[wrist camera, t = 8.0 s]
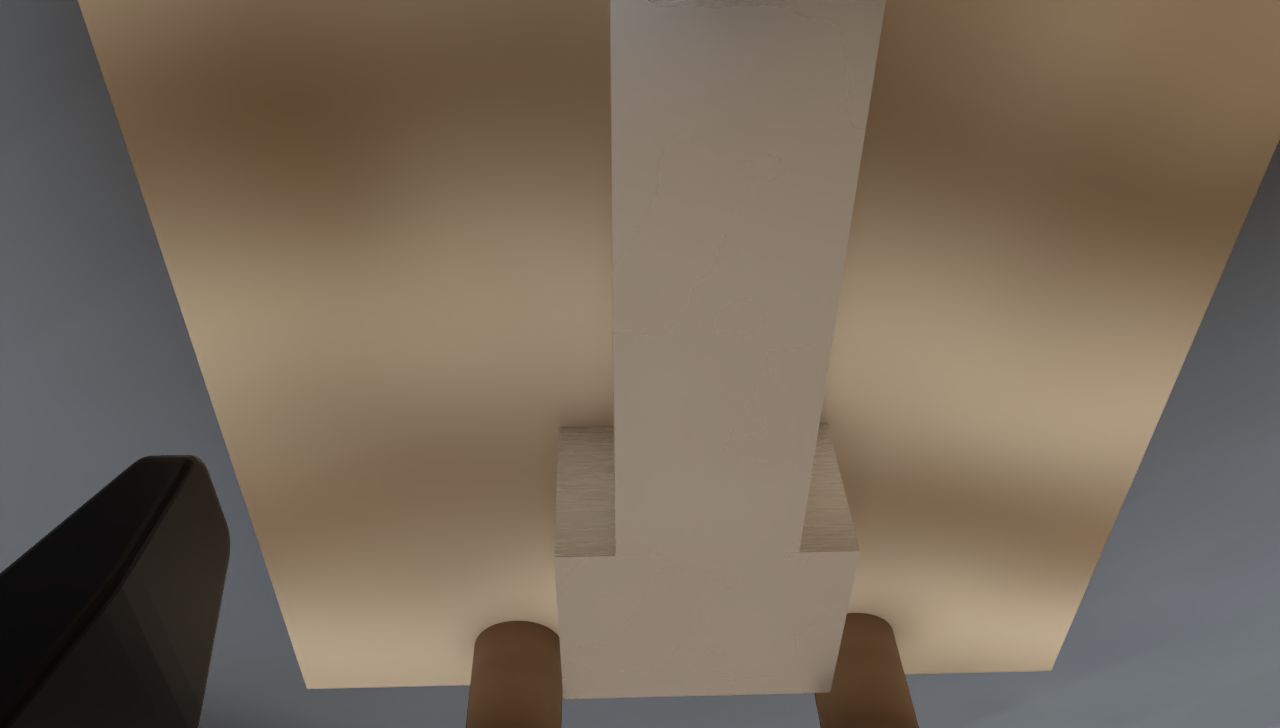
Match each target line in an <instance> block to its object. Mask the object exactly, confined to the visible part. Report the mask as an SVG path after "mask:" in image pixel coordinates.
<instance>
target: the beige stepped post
mask: <svg viewBox="0 0 1280 728" xmlns="http://www.w3.org/2000/svg"><path fill="white" fill-rule="evenodd" d="M885 3H886V0H608V4H609V96H610V188H611V279H612V371H613V426H590V427H559V443H558V469H557V494H556V520H555V545H554V565H555V580H556V595H557V610H558V625H559V640H560V656H561V671H562V686H563V699H588V698H629V697H670V696H710V695H751V694H792V693H830V691H831V686H832V681H833V677H834V672H835V667H836V663H837V658H838V653H839V648H840V644H841V639H842V634H843V629H844V625H845V620H846V615H847V611H848V606H849V601H850V596H851V592H852V587H853V582H854V578H855V573H856V568H857V563H858V559H859V554H860V549H859V545H858V541H857V537H856V533H855V529H854V525H853V522H852V518H851V514H850V510H849V506H848V502H847V498H846V494H845V490H844V486H843V482H842V478H841V474H840V471H839V467H838V463H837V459H836V455H835V451H834V447H833V443H832V439H831V435H830V431H829V427H828V423H820V417H821V411H822V405H823V398H824V392H825V386H826V379H827V373H828V366H829V360H830V354H831V347H832V341H833V335H834V328H835V322H836V315H837V309H838V303H839V296H840V290H841V284H842V277H843V271H844V264H845V258H846V252H847V245H848V239H849V233H850V226H851V220H852V213H853V207H854V201H855V194H856V188H857V182H858V175H859V169H860V162H861V156H862V150H863V143H864V137H865V131H866V124H867V118H868V111H869V105H870V99H871V92H872V86H873V80H874V73H875V67H876V60H877V54H878V48H879V41H880V35H881V29H882V22H883V16H884V9H885Z"/></svg>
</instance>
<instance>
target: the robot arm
mask: <svg viewBox="0 0 1280 728" xmlns="http://www.w3.org/2000/svg"><path fill="white" fill-rule="evenodd" d="M229 556H230V536H229V529H228V526H227V523H226V520H225V517H224V514H223V511H222V509H221V506H220V503H219V500H218V497H217V495H216V492H215V489H214V486H213V483H212V480H211V478H210V475H209V472H208V470H207V468H206V466H205V464H204V463H203V461H202V460H201V459H200V458H198V457H196V456H192V455H161V456H147V457H143V458H141V459H139V460H138V461H136V462H135V463H133V464H132V465H131V466H129V467H128V468H127V469H126V470H125V471H123V472H122V473H121V474H120V475H118V476H117V477H116V478H115V479H114V480H112V481H111V482H110V483H109V484H108V485H106V486H105V487H104V488H103V489H102V490H100V491H99V492H98V493H97V494H96V495H94V496H93V497H92V498H91V499H90V500H88V501H87V502H86V503H85V504H83V505H82V506H81V507H80V508H79V509H77V510H76V511H75V512H74V513H73V514H71V515H70V516H69V517H68V518H67V519H65V520H64V521H63V522H62V523H61V524H59V525H58V526H57V527H56V528H54V529H53V530H52V531H51V532H50V533H48V534H47V535H46V536H45V537H44V538H42V539H41V540H40V541H39V542H38V543H36V544H35V545H34V546H33V547H32V548H30V549H29V550H28V551H27V552H26V553H24V554H23V555H22V556H21V557H19V558H18V559H17V560H16V561H15V562H13V563H12V564H11V565H10V566H9V567H7V568H6V569H5V570H4V571H3V572H1V573H0V728H198V725H199V720H200V715H201V710H202V705H203V699H204V694H205V688H206V683H207V677H208V672H209V667H210V661H211V656H212V650H213V645H214V639H215V634H216V628H217V623H218V617H219V612H220V606H221V601H222V595H223V590H224V584H225V579H226V573H227V568H228V562H229Z"/></svg>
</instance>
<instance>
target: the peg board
mask: <svg viewBox="0 0 1280 728" xmlns="http://www.w3.org/2000/svg"><path fill="white" fill-rule="evenodd" d="M78 2H79V5H80V8H81V11H82V14H83V17H84V20H85V23H86V26H87V29H88V32H89V35H90V38H91V41H92V44H93V47H94V50H95V53H96V56H97V59H98V62H99V65H100V68H101V71H102V74H103V77H104V80H105V83H106V86H107V89H108V92H109V95H110V98H111V101H112V104H113V107H114V110H115V113H116V116H117V119H118V122H119V125H120V128H121V131H122V134H123V137H124V140H125V143H126V146H127V149H128V153H129V156H130V159H131V162H132V165H133V168H134V171H135V174H136V177H137V180H138V183H139V186H140V189H141V192H142V195H143V198H144V201H145V204H146V207H147V210H148V213H149V216H150V219H151V222H152V225H153V228H154V231H155V234H156V237H157V240H158V243H159V246H160V249H161V252H162V255H163V258H164V261H165V264H166V267H167V270H168V273H169V276H170V279H171V282H172V285H173V288H174V291H175V294H176V297H177V300H178V303H179V306H180V309H181V312H182V315H183V318H184V321H185V324H186V327H187V330H188V333H189V336H190V339H191V342H192V345H193V348H194V351H195V354H196V357H197V360H198V363H199V366H200V369H201V372H202V375H203V378H204V381H205V384H206V387H207V390H208V393H209V396H210V399H211V402H212V405H213V408H214V411H215V414H216V417H217V420H218V423H219V426H220V429H221V432H222V435H223V438H224V441H225V444H226V447H227V450H228V453H229V456H230V459H231V462H232V465H233V468H234V471H235V474H236V477H237V480H238V483H239V486H240V489H241V492H242V495H243V498H244V501H245V504H246V507H247V510H248V513H249V516H250V519H251V522H252V525H253V528H254V531H255V534H256V537H257V540H258V543H259V546H260V549H261V552H262V555H263V558H264V561H265V564H266V567H267V570H268V573H269V576H270V579H271V582H272V585H273V588H274V591H275V594H276V597H277V600H278V603H279V606H280V609H281V612H282V615H283V618H284V621H285V624H286V627H287V630H288V633H289V636H290V639H291V642H292V645H293V648H294V651H295V654H296V657H297V660H298V663H299V666H300V669H301V672H302V675H303V678H304V681H305V684H306V687H307V689H331V688H371V687H412V686H452V685H470V692H469V701H468V711H467V720H466V728H561V721H562V671H561V656H560V640H559V625H558V610H557V595H556V580H555V565H554V545H555V520H556V494H557V469H558V443H559V427H590V426H613V371H612V279H611V188H610V96H609V4H608V0H78ZM1279 140H1280V0H886V3H885V9H884V16H883V22H882V29H881V35H880V41H879V48H878V54H877V60H876V67H875V73H874V80H873V86H872V92H871V99H870V105H869V111H868V118H867V124H866V131H865V137H864V143H863V150H862V156H861V162H860V169H859V175H858V182H857V188H856V194H855V201H854V207H853V213H852V220H851V226H850V233H849V239H848V245H847V252H846V258H845V264H844V271H843V277H842V284H841V290H840V296H839V303H838V309H837V315H836V322H835V328H834V335H833V341H832V347H831V354H830V360H829V366H828V373H827V379H826V386H825V392H824V398H823V405H822V411H821V417H820V423H828V427H829V431H830V435H831V439H832V443H833V447H834V451H835V455H836V459H837V463H838V467H839V471H840V474H841V478H842V482H843V486H844V490H845V494H846V498H847V502H848V506H849V510H850V514H851V518H852V522H853V525H854V529H855V533H856V537H857V541H858V545H859V549H860V554H859V559H858V563H857V568H856V573H855V578H854V582H853V587H852V592H851V596H850V601H849V606H848V611H847V615H846V620H845V625H844V629H843V634H842V639H841V644H840V648H839V653H838V658H837V663H836V667H835V672H834V677H833V681H832V686H831V691H830V693H815V699H816V704H817V709H818V715H819V720H820V726H821V728H919V726H918V723H917V719H916V715H915V711H914V708H913V704H912V700H911V696H910V693H909V689H908V685H907V681H906V678H905V674H938V673H978V672H1019V671H1051V670H1052V668H1053V665H1054V663H1055V661H1056V658H1057V656H1058V654H1059V651H1060V649H1061V647H1062V644H1063V642H1064V640H1065V637H1066V635H1067V633H1068V630H1069V628H1070V626H1071V623H1072V621H1073V619H1074V616H1075V614H1076V612H1077V609H1078V607H1079V605H1080V602H1081V600H1082V598H1083V595H1084V593H1085V591H1086V588H1087V586H1088V584H1089V581H1090V579H1091V577H1092V575H1093V572H1094V570H1095V568H1096V565H1097V563H1098V561H1099V558H1100V556H1101V554H1102V551H1103V549H1104V547H1105V544H1106V542H1107V540H1108V537H1109V535H1110V533H1111V530H1112V528H1113V526H1114V523H1115V521H1116V519H1117V516H1118V514H1119V512H1120V509H1121V507H1122V505H1123V502H1124V500H1125V498H1126V495H1127V493H1128V491H1129V488H1130V486H1131V484H1132V482H1133V479H1134V477H1135V475H1136V472H1137V470H1138V468H1139V465H1140V463H1141V461H1142V458H1143V456H1144V454H1145V451H1146V449H1147V447H1148V444H1149V442H1150V440H1151V437H1152V435H1153V433H1154V430H1155V428H1156V426H1157V423H1158V421H1159V419H1160V416H1161V414H1162V412H1163V409H1164V407H1165V405H1166V402H1167V400H1168V398H1169V395H1170V393H1171V391H1172V388H1173V386H1174V384H1175V382H1176V379H1177V377H1178V375H1179V372H1180V370H1181V368H1182V365H1183V363H1184V361H1185V358H1186V356H1187V354H1188V351H1189V349H1190V347H1191V344H1192V342H1193V340H1194V337H1195V335H1196V333H1197V330H1198V328H1199V326H1200V323H1201V321H1202V319H1203V316H1204V314H1205V312H1206V309H1207V307H1208V305H1209V302H1210V300H1211V298H1212V295H1213V293H1214V291H1215V289H1216V286H1217V284H1218V282H1219V279H1220V277H1221V275H1222V272H1223V270H1224V268H1225V265H1226V263H1227V261H1228V258H1229V256H1230V254H1231V251H1232V249H1233V247H1234V244H1235V242H1236V240H1237V237H1238V235H1239V233H1240V230H1241V228H1242V226H1243V223H1244V221H1245V219H1246V216H1247V214H1248V212H1249V209H1250V207H1251V205H1252V202H1253V200H1254V198H1255V196H1256V193H1257V191H1258V189H1259V186H1260V184H1261V182H1262V179H1263V177H1264V175H1265V172H1266V170H1267V168H1268V165H1269V163H1270V161H1271V158H1272V156H1273V154H1274V151H1275V149H1276V147H1277V144H1278V142H1279Z"/></svg>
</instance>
